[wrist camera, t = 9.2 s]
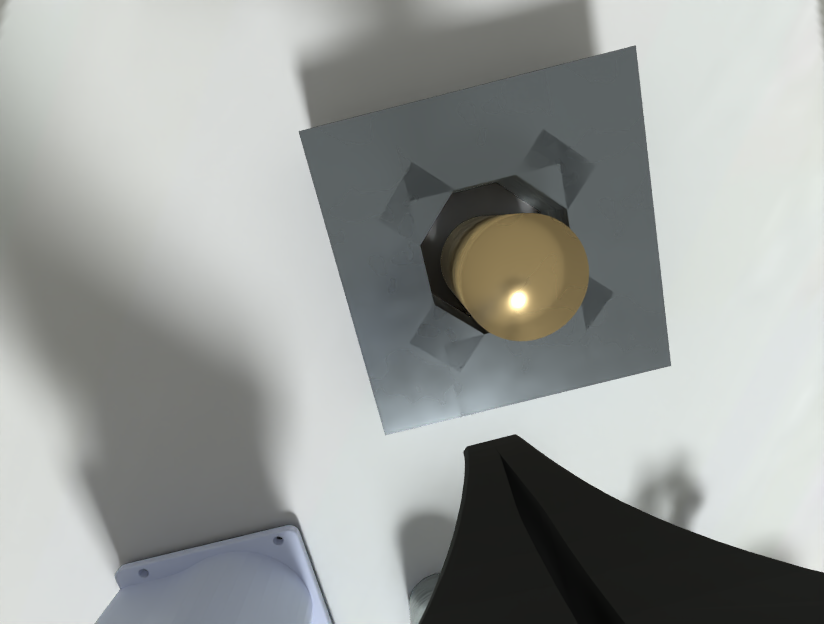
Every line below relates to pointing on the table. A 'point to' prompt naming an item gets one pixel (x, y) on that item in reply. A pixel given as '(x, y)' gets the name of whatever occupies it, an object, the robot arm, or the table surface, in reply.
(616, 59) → the plate
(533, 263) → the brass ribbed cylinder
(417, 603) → the sleeve
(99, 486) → the table surface
